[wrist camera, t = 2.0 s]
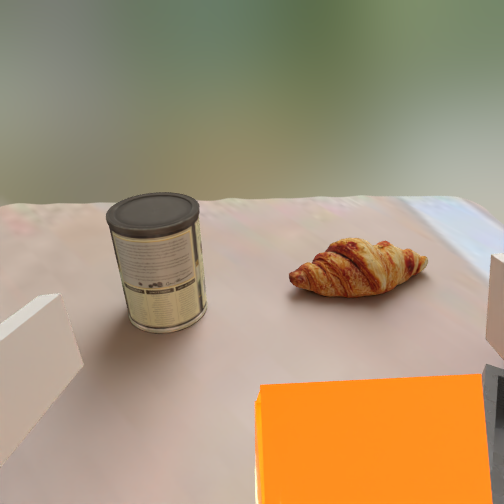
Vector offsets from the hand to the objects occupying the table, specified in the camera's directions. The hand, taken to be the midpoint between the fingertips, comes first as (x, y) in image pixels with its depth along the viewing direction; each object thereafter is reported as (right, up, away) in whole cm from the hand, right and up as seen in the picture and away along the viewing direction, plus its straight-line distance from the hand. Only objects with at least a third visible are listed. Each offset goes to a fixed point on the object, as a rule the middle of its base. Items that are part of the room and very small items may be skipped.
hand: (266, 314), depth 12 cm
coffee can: (-11, -6, +39) cm, 41 cm away
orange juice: (+4, -21, +13) cm, 25 cm away
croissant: (+15, -3, +44) cm, 46 cm away
